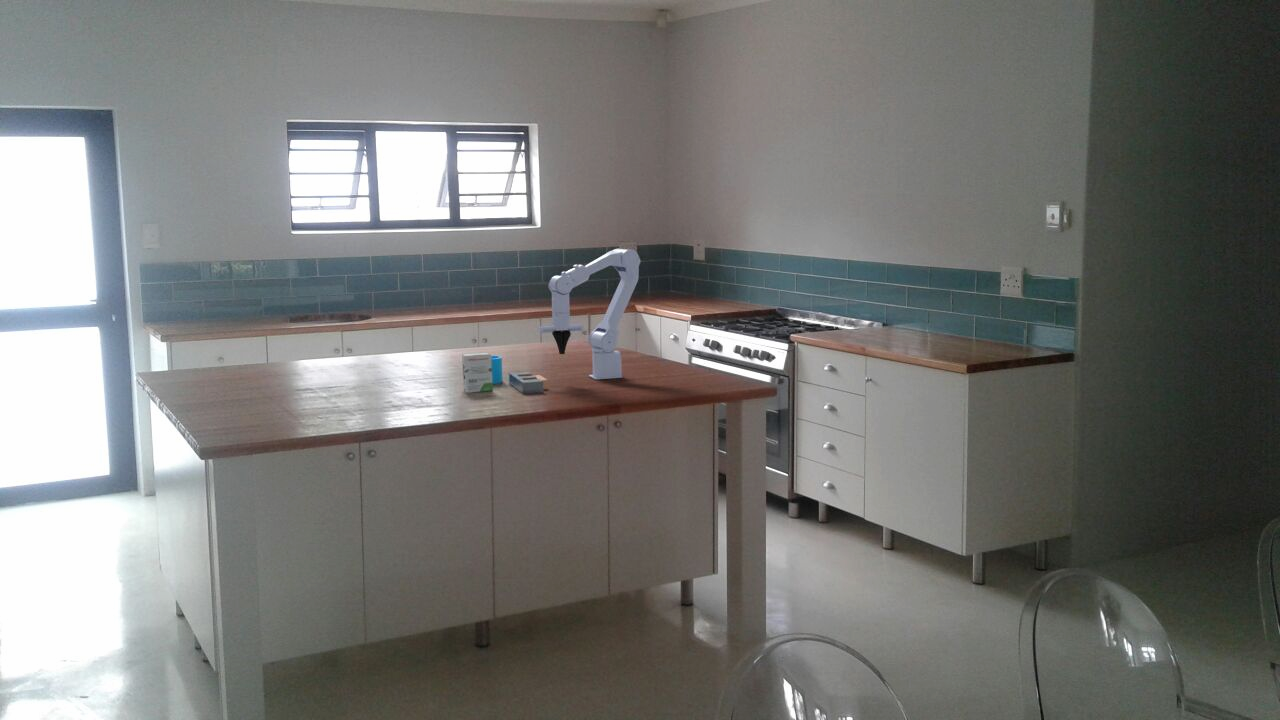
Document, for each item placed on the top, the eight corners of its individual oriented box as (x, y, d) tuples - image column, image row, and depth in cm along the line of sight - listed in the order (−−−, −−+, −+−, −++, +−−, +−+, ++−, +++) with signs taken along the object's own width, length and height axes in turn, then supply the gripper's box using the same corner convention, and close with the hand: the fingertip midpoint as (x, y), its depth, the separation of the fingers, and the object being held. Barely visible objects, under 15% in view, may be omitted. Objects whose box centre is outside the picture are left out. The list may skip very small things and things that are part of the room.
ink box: (489, 388, 363) (488, 352, 361) (493, 390, 358) (492, 354, 356) (463, 390, 360) (461, 353, 358) (466, 393, 355) (464, 355, 353)
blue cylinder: (504, 383, 372) (503, 358, 371) (479, 384, 370) (478, 359, 369) (499, 377, 384) (498, 353, 383) (475, 378, 382) (474, 354, 381)
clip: (539, 384, 369) (539, 375, 369) (547, 389, 360) (547, 379, 360) (517, 385, 367) (517, 376, 367) (524, 390, 358) (524, 381, 357)
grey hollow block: (528, 382, 373) (528, 371, 373) (543, 392, 354) (542, 381, 354) (509, 383, 371) (508, 373, 371) (522, 393, 352) (522, 382, 352)
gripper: (579, 310, 375) (579, 350, 377) (536, 312, 371) (537, 353, 373) (584, 312, 369) (585, 353, 371) (541, 314, 364) (542, 356, 366)
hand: (561, 353), depth 371 cm, fingers closed
